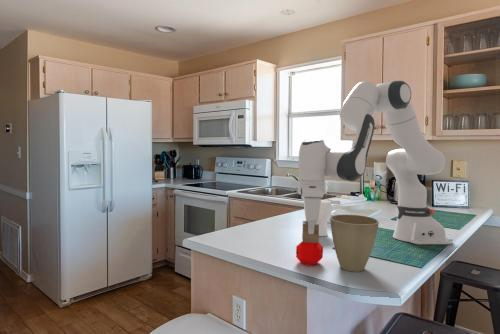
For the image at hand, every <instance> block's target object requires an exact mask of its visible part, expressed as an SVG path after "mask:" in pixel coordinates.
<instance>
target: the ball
mask: <svg viewBox="0 0 500 334" xmlns="http://www.w3.org/2000/svg"><path fill="white" fill-rule="evenodd" d="M295 251H296V252H295V254H296V255H295V257H296V258H297V260H298V261H299V262H300V264H301V265H307V266H315V265H316V264H318V262H320V261H321V260H322V259H323V258H324V246H323V245H322V244H321V243H320V241H318V243H309V242H303V240H302V241H301V242H300V243H298V244H297V245H296V247H295Z"/></svg>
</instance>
